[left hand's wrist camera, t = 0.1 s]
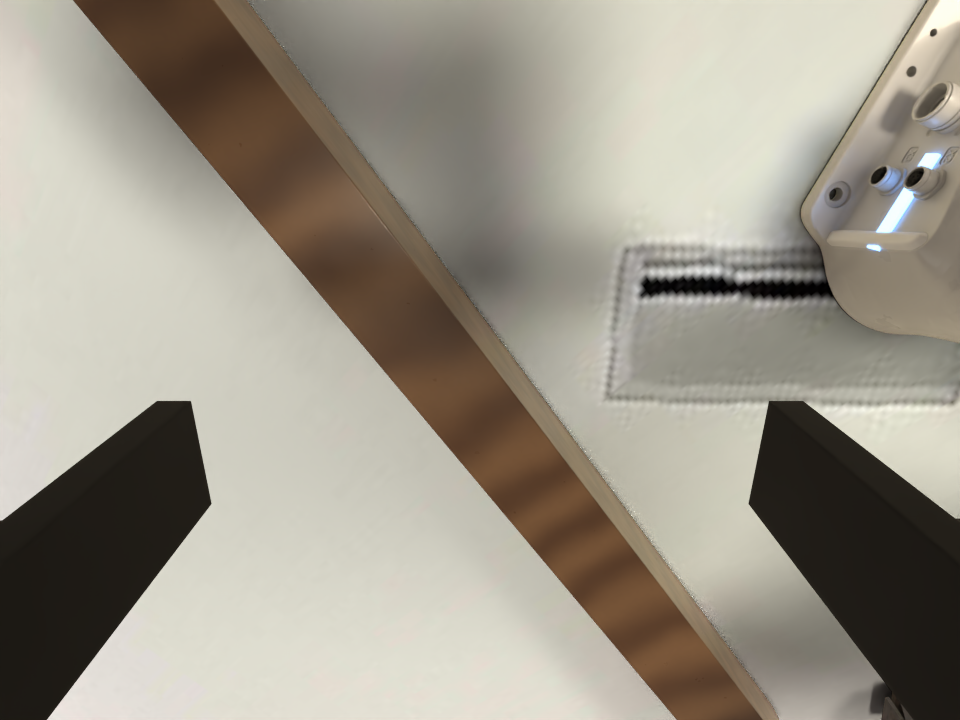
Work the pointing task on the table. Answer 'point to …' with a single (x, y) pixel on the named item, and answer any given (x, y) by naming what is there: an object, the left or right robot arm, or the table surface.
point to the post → (421, 330)
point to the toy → (894, 710)
